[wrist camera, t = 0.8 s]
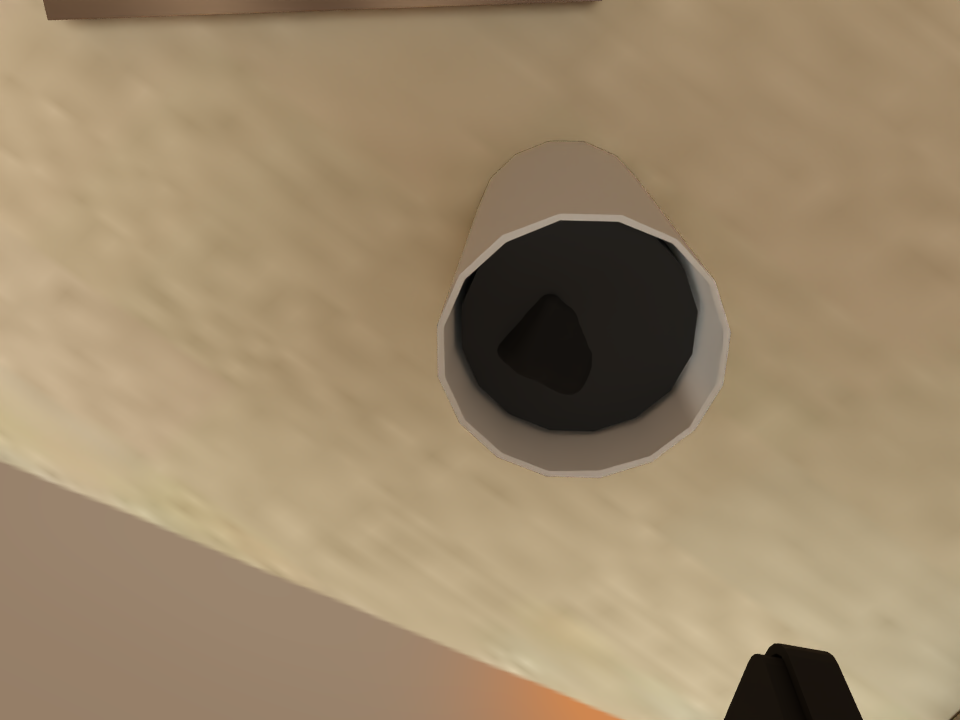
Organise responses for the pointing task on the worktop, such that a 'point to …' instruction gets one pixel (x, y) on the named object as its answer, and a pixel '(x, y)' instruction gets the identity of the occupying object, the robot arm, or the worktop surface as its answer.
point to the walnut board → (236, 6)
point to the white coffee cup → (578, 319)
